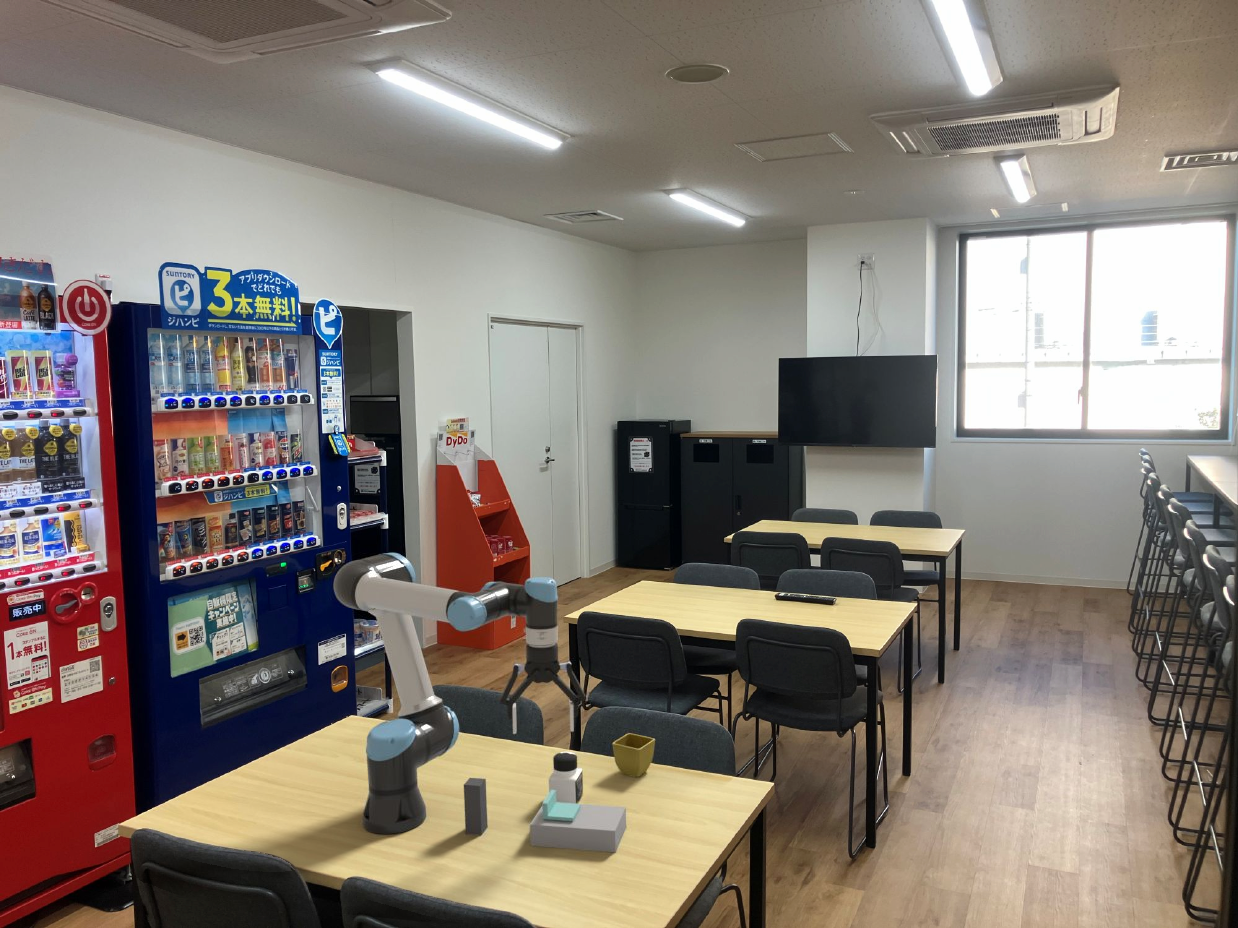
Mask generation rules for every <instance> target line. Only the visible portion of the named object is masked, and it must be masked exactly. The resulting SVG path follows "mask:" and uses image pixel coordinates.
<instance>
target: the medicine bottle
mask: <svg viewBox="0 0 1238 928" xmlns="http://www.w3.org/2000/svg"><path fill="white" fill-rule="evenodd" d="M552 760H553V771H552V773H551V774H550V776H549V777H548V793H549V792H550V791H551V790H556V802H561V803H575V804H580V801H581V799H582V798H583V796H584V780H583V769H582V768H578V756H577V755H576V753H574V752H571V751H561V752H558V753H555V755H554V756H553V759H552Z"/></svg>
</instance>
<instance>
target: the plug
mask: <svg viewBox="0 0 1238 928" xmlns="http://www.w3.org/2000/svg"><path fill="white" fill-rule="evenodd" d="M486 781H487V779H486V778H481V777H480V778H479V777H469V778H468V779H467V780H466V782H464V784H463V798H464V799H463V800H464V802H463V803H464V804H463V805H464V824H465V835H474V836H477V835H478V836H482V835H483V834H484V833H485V831H486V830H487V829H488V805H487V782H486Z"/></svg>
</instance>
